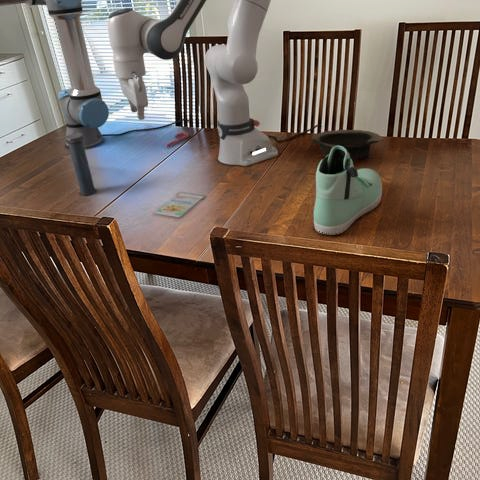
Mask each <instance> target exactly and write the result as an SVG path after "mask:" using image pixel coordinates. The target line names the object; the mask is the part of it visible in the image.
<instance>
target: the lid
mask: <svg viewBox="0 0 480 480" xmlns="http://www.w3.org/2000/svg"><path fill="white" fill-rule="evenodd" d="M82 140H83V136H82V134H79V133H76V134H70V135H68V136H66V135H65V143H66V142H67V143H71V144H72V143H78V142H81V141H82Z"/></svg>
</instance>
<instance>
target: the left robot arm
mask: <svg viewBox="0 0 480 480" xmlns="http://www.w3.org/2000/svg"><path fill="white" fill-rule="evenodd" d="M82 1H83V0H0V7H3V6H10V5H18V4H20V5H21V4H26V5H28V6H46V9H47V12H48V16H50V18H52V19H53V20H54V22H55V27H56V30H57V34H58V39H59V43H60V46H61V50H62V54H63V58H64V62H65V66H66V70H67V74H68V75H67V76H68V78H69V82H70V87H69V88H66V89H61V90H60V91H58V93H57V95H58V102H59V105H60V107H61V113H62V116H63V119H64V123H65V126H66V133H65V137H66V136H68V135H70V134H76V133H79V134H82V136H83V140H82V141H83V145H84V149H92V148H94V147H97V146H99V145H102V143H104V137H120V136H124V135H126V134H130V133H133V132H145V131H146V132H147V131H153V130H159V129H163V128H168V127H170V126H173V125H176V124H178V123H181V122H183V121H187V123H188V122H191V120H189V119H187V118H181V119H179V120H177V121H174V122H170V123H168V124H164V125H162V126H157V127H149V128H138V129H131V130H128V131H124V132H121V133H107V134H106V133H105V134H104V133H103V134H102V132H101V130H100V129H99V128H101V127H102V126H103V125H105V123H106V122H107V121H108V119H109V117H110V110H109V107H108V104H107V103H106V101H104V100H103V96H102V92H101V89H100V88H99V87H98V86H97V85H96V84H95V79H94V75H93V70H92V65H91V61H90V56H89V53H88V52H89V51H88V47H87V44H86V43H87V42H86V39H85V34H84V30H83V26H82V21H81V15H82V14H83V12H84V10H83V5H82ZM65 144H66V148H68V149H69V145H68V143H67V142H66V141H65Z"/></svg>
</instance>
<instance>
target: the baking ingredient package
mask: <svg viewBox="0 0 480 480" xmlns="http://www.w3.org/2000/svg"><path fill="white" fill-rule="evenodd" d="M204 197H205V196H203V195H197V194H190V193H185V192H179V193H178V194H176V196H174V197H173V198H171V199H169V200H168V201H167V202H165V204H163V205H162V206H161V207H159V208H158V209H157V210H155V211H154V212H153V213H154V214H157V215H158V214H159V215H162V216H169V217H174V218H180V217H181V216H182V215H184V213H186V212H187V211H189V210H190V209H191V208H192V207H193V206H195V205H196V204H197V203H198V202H199V201H200V200H202V199H203V198H204Z"/></svg>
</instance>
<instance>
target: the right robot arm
mask: <svg viewBox="0 0 480 480" xmlns="http://www.w3.org/2000/svg"><path fill="white" fill-rule="evenodd" d="M271 1H272V0H234V1H233V4H232V7H231V10H230V13H229V16H228V18H227V23H226V25H227V29H228V30H227V31H228V32H227V39H226V40H227V41H226V44H216V45H213V46H211V47H209V48H208V49H207V51H206V53H205V55H204V65H205V67H206V69H207V71H208V73H209V76H210V80H211V84H212V87H213V91H214V94H215V95H214V96H215V100H216V105H217V115H218V121H217V132H218V137H219V151H218V156H217V160H218V161H219V162H220V163H222V164H225V165H230V166H231V165H232V166H233V165H234V166H244V167H247V166H251V165H253V164H257V163H260V162H263V161H265V160H270V159H272V158H275V157H277V156H278V155H279V151H278V149H277V148H276V147H275V146H274V145H272V141H271V139H274V140H275V142H277V143H282V142H286V141H289V140H291V139H293V138H296V137H298V136H301V135H303V134H306V133H309V132H311V131H313V130H314V129H316V128H318V127H319V128H322V127H323V126H322V125H321V124H316V125H314V126H313V127H311V128H309V129H306V130H304V131H302V132H299V133H297V134H293V135H291V136H290V137H288V138H285V139H281V140H279V139H278V138H276V136H273V135H270V134H267V133H264V132H263V131H261V130H260V129H258V128H256V127H259V126H260V125H261V124H260V123H261V122H260V121H259V120H257V119H253V118H251V117H250V104H249V103H250V102H249V101H250V100H249V96H248V94H247V92H246V89H245V87H244V85H247V84H250V83H251V82H253V80H254V79H255V78H256V77H257V75H258V68H259V67H258V66H259V65H258V61H257V49H258V41H259V36H260V32H261V30H262V27H263V24H264V21H265V19H266V16H267V13H268V10H269V7H270V5H271ZM206 2H207V0H177V3H176V4H175V6H174V7H173V9H172V10H171V12H170V14H169V15H168V16H167V17H165V18H164V19H156V18H152V17H150V16H146V15H144V14H142V13H139V12H138V11H135V10H134V9H133V8H130V7H126V8H121V9H117V10H115V11H113V12H112V13H110V14H109V16H108V18H107V33H108V38H109V45H110V47H111V50H112V53H113V55H112V60H113V66H114V67H113V68H114V73H115V77H116V78H118V81H119V85H120V88H121V92H122V94H123V96H124V97H125V98H126V99H127V101H128V104H129V107H130V112H132V113H136V115H137V119H138V120H139V121H143V120H145V108H147V107H149V99H148V93H147V88H146V84H145V81H144V79H143V77H144V76H146V75H147V72H146V71H147V70H146V66H145V58H144V55H145V54H148V53H149V54H150V55H154V56H155V57H157V58H158V59H161V60H164V61H169V60H172V59H174V58H176V57H178V56H179V55H180V53H181V52H182V50H183V47H184V45H185V41H186V38H187V34H188V32H189V30H190V28H191V26H192V25H193V23H194V22H195V20H196V18H197V17H198V15H199V13H200V12H201V10H202V9H203V7H204V5H205V4H206Z"/></svg>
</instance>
